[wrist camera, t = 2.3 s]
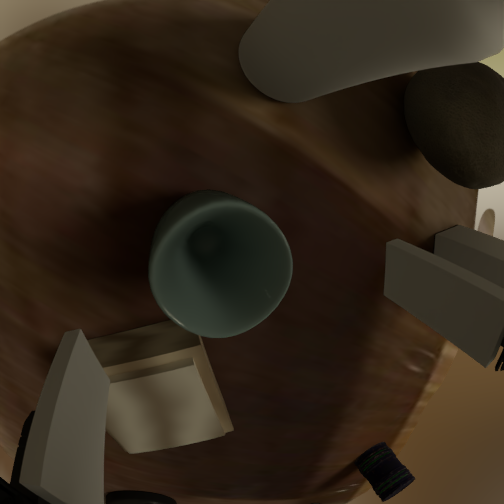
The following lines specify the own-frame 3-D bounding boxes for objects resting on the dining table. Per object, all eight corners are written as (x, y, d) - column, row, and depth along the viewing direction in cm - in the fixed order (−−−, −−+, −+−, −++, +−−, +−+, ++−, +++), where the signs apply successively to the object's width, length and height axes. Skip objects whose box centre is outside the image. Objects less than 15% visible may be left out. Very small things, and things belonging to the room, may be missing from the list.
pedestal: (126, 421, 27) (126, 458, 22) (74, 342, 23) (61, 382, 17) (223, 399, 30) (236, 436, 25) (193, 313, 26) (202, 352, 20)
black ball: (363, 59, 23) (480, 29, 9) (436, 74, 26) (526, 69, 12) (383, 183, 28) (503, 211, 14) (448, 171, 31) (538, 191, 17)
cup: (135, 232, 22) (118, 280, 13) (202, 165, 22) (230, 167, 13) (199, 290, 25) (222, 360, 16) (261, 231, 25) (317, 271, 16)
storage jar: (347, 465, 51) (375, 505, 38) (375, 441, 51) (408, 481, 37) (365, 463, 55) (391, 498, 42) (390, 441, 55) (420, 475, 41)
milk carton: (430, 278, 36) (528, 335, 18) (434, 233, 33) (547, 281, 16) (453, 265, 37) (542, 311, 20) (458, 224, 35) (557, 263, 17)
